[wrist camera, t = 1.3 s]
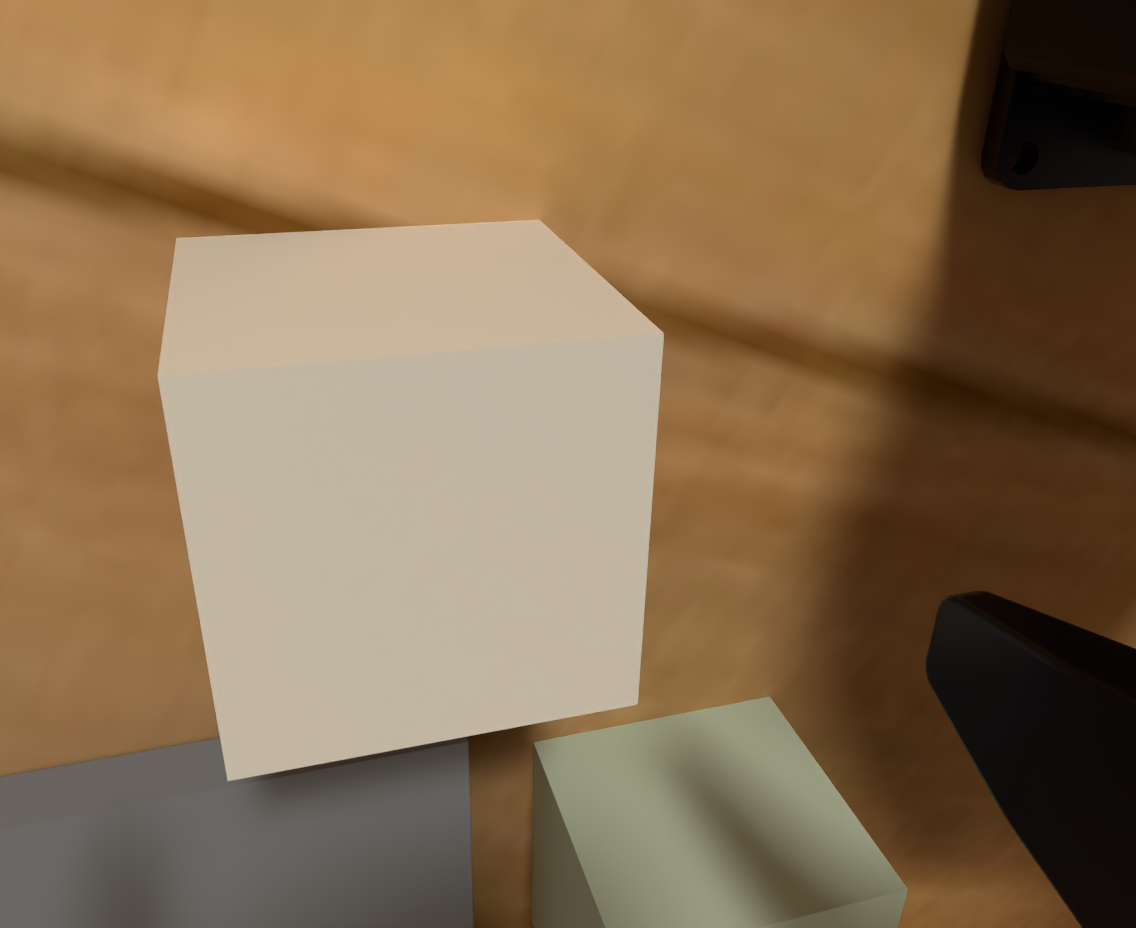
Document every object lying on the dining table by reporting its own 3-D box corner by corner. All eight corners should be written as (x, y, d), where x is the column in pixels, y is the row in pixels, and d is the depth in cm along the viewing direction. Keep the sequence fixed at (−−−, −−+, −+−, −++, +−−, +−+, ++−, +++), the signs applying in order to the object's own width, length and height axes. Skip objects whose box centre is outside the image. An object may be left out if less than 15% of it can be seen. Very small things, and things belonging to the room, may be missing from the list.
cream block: (537, 218, 15) (664, 333, 11) (534, 513, 17) (637, 704, 13) (176, 236, 14) (158, 375, 9) (224, 553, 16) (228, 781, 12)
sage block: (768, 694, 21) (907, 889, 17) (743, 866, 23) (860, 1076, 19) (532, 739, 20) (619, 964, 15) (530, 917, 22) (605, 1156, 18)
